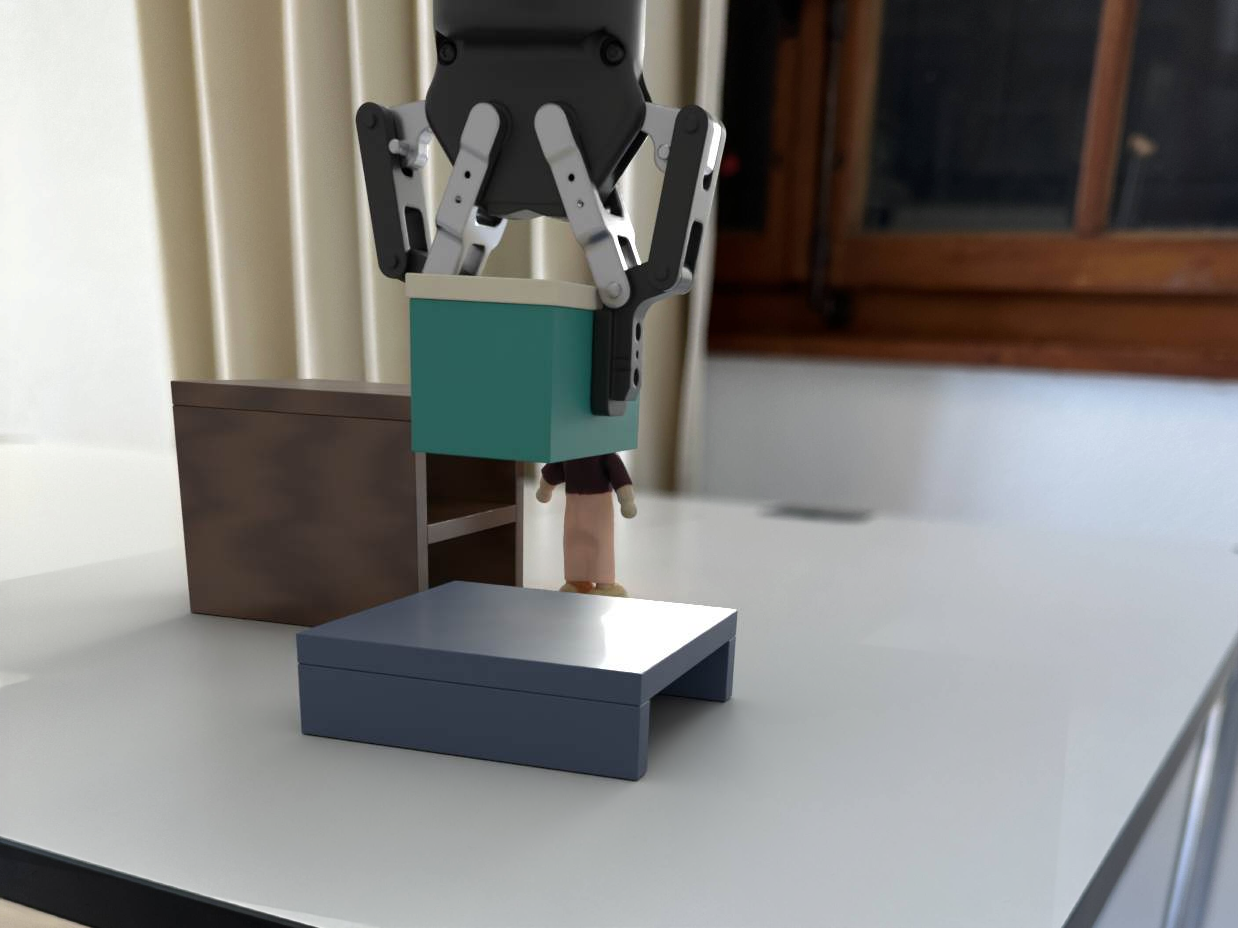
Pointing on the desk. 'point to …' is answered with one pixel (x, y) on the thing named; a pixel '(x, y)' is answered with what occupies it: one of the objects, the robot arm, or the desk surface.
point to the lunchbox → (507, 370)
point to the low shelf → (513, 674)
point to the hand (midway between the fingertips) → (532, 408)
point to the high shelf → (330, 501)
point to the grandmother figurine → (590, 519)
